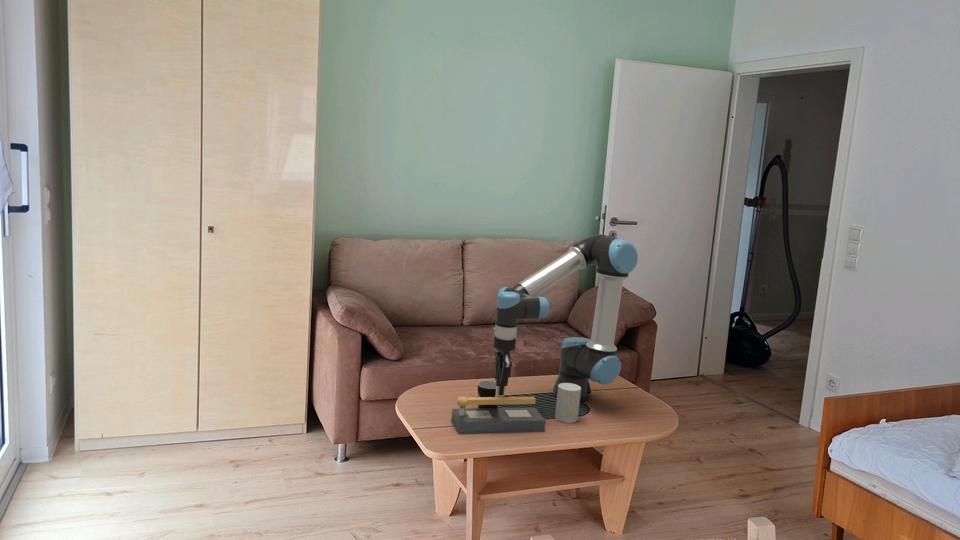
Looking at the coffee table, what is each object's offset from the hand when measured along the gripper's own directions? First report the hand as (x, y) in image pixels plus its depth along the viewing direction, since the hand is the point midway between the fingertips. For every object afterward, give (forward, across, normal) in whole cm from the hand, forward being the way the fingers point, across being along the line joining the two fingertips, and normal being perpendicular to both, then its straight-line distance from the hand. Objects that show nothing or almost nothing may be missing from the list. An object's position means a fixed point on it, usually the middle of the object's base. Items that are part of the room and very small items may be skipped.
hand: (499, 402), depth 253 cm
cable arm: (-1, +3, -2) cm, 4 cm away
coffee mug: (+7, -12, 0) cm, 14 cm away
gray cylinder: (+7, -2, +26) cm, 27 cm away
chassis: (+7, +3, -1) cm, 8 cm away
